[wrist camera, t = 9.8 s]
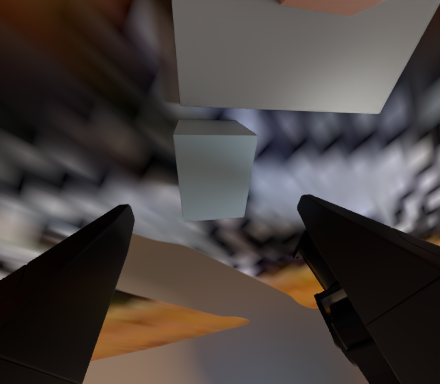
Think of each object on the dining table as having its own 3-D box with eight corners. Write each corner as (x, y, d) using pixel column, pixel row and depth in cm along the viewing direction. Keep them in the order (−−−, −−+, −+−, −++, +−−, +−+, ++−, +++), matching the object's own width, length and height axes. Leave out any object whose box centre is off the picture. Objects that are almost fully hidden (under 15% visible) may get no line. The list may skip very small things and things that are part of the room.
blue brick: (230, 184, 16) (243, 217, 12) (185, 185, 15) (183, 221, 11) (235, 120, 13) (257, 135, 8) (179, 119, 12) (173, 135, 8)
